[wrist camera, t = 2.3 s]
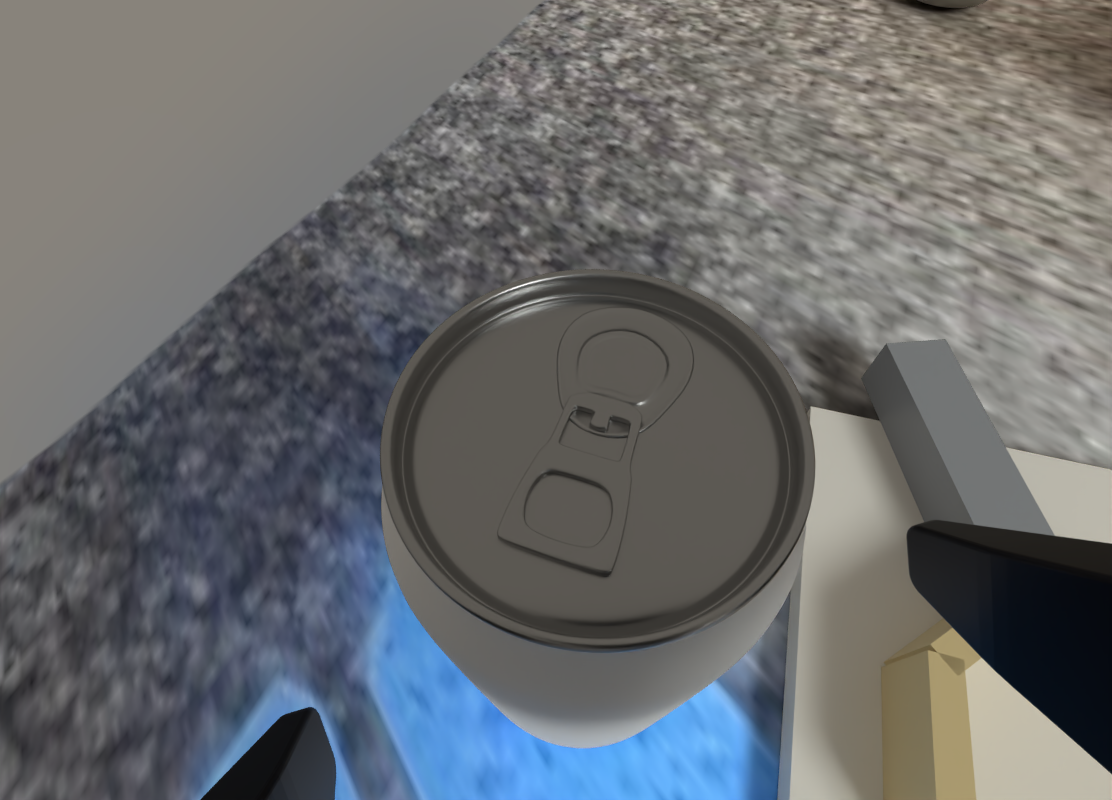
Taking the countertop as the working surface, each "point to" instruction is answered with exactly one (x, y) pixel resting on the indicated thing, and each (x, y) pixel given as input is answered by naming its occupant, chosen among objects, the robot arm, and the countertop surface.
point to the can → (595, 497)
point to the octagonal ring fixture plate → (919, 602)
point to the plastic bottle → (954, 3)
